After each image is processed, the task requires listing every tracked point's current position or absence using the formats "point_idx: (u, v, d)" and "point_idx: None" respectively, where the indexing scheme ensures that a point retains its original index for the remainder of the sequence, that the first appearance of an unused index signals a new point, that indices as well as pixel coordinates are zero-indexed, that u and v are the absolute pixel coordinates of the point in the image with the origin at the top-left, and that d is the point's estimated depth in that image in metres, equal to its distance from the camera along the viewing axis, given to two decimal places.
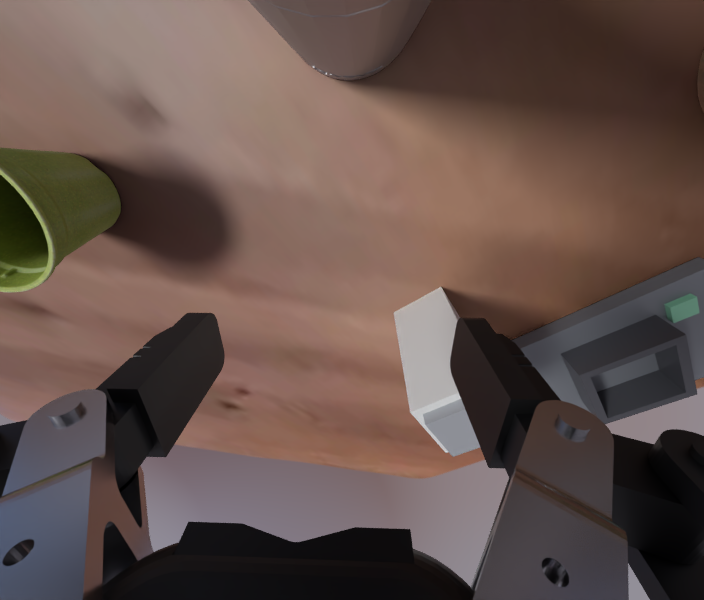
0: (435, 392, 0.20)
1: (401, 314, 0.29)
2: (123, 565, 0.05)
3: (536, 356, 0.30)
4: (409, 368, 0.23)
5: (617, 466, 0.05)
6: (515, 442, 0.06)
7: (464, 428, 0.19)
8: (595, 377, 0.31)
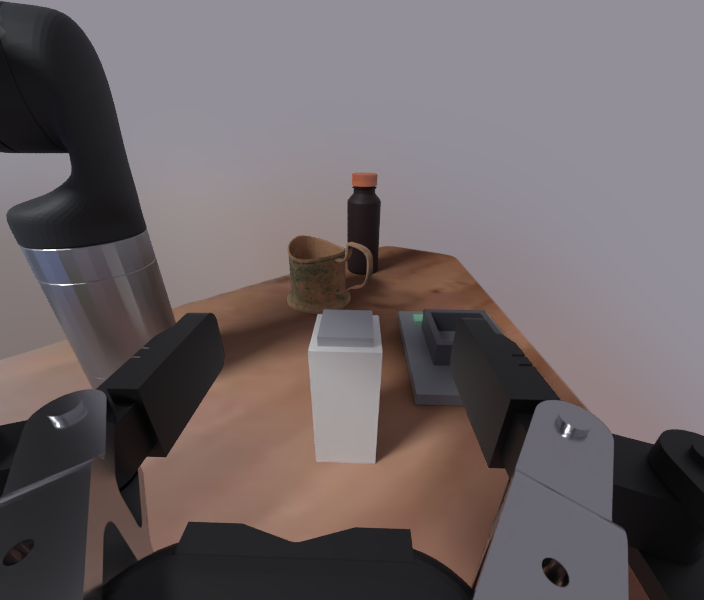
0: None
1: None
2: (123, 565, 0.05)
3: (429, 376, 0.34)
4: None
5: (617, 466, 0.05)
6: (515, 442, 0.06)
7: (342, 323, 0.23)
8: None
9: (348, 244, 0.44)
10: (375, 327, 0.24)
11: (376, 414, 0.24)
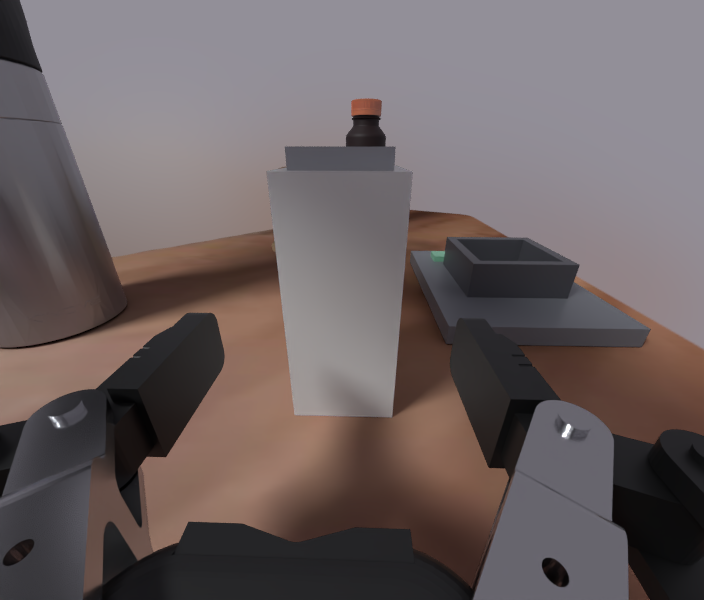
0: None
1: None
2: (123, 565, 0.05)
3: (463, 308, 0.24)
4: None
5: (617, 466, 0.05)
6: (515, 442, 0.06)
7: None
8: None
9: None
10: (394, 167, 0.14)
11: (396, 319, 0.13)
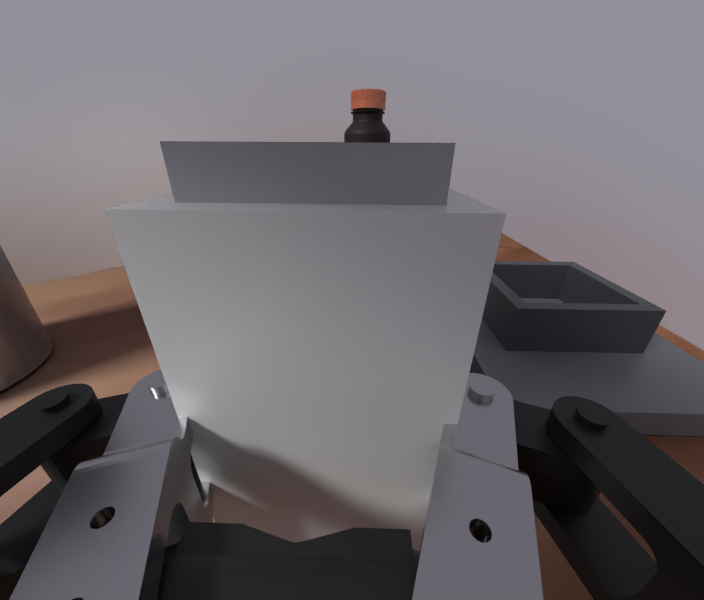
0: None
1: None
2: None
3: (504, 372, 0.17)
4: None
5: (518, 428, 0.06)
6: None
7: None
8: None
9: None
10: None
11: None
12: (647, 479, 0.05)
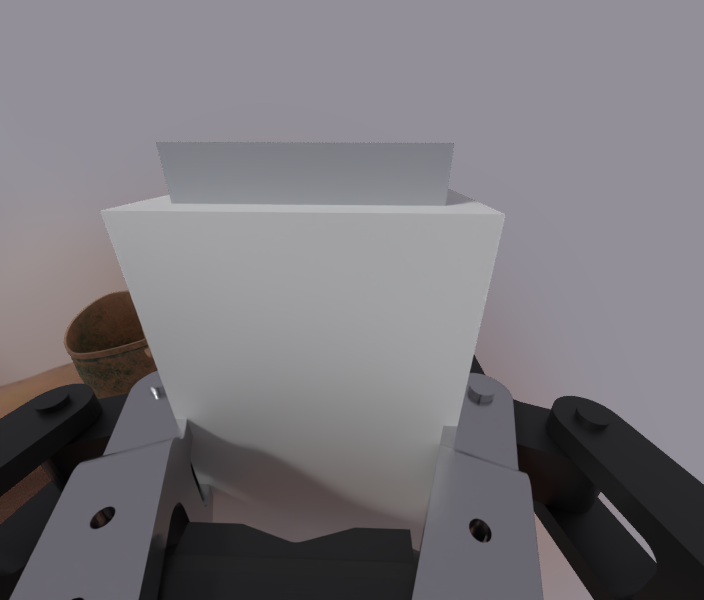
0: None
1: None
2: None
3: None
4: None
5: (517, 428, 0.06)
6: None
7: None
8: None
9: None
10: None
11: None
12: (647, 479, 0.05)
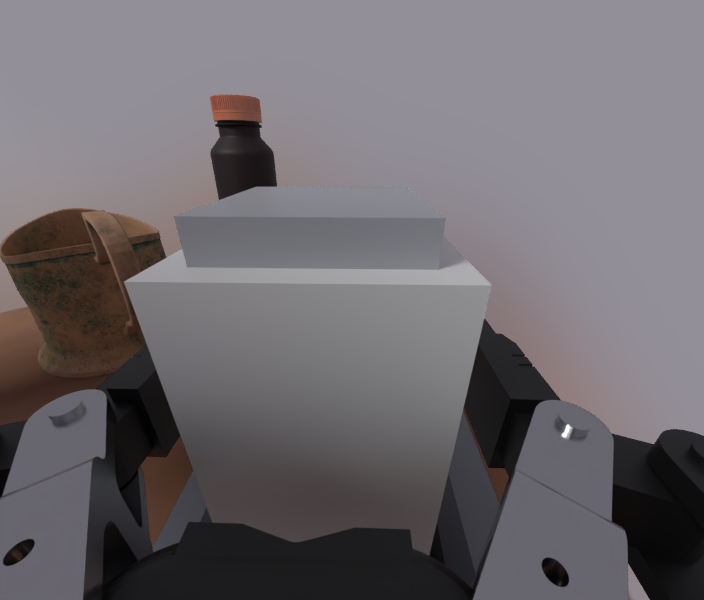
0: None
1: None
2: (123, 565, 0.05)
3: None
4: None
5: (617, 466, 0.05)
6: (515, 442, 0.06)
7: (305, 198, 0.06)
8: None
9: (83, 215, 0.17)
10: None
11: (429, 524, 0.07)
12: None
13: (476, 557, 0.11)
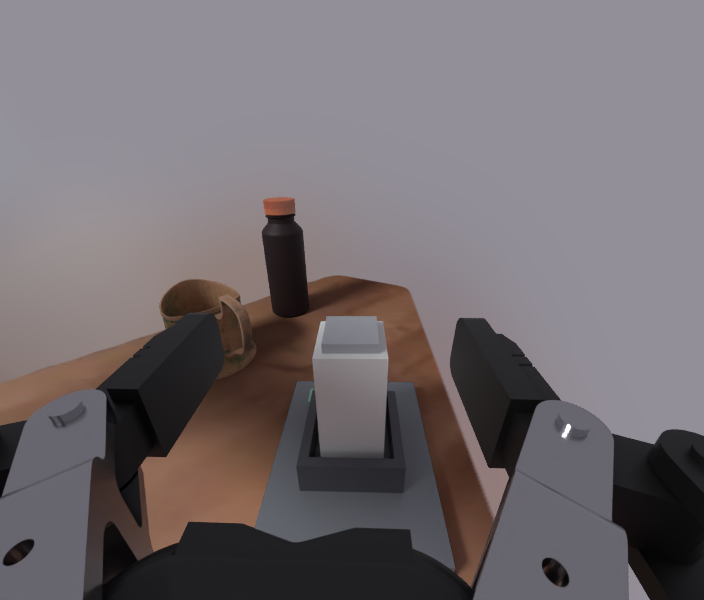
0: None
1: None
2: (123, 565, 0.05)
3: (281, 518, 0.23)
4: None
5: (617, 466, 0.05)
6: (515, 442, 0.06)
7: (346, 329, 0.22)
8: None
9: (220, 299, 0.34)
10: (380, 333, 0.23)
11: (383, 422, 0.23)
12: None
13: (411, 453, 0.27)
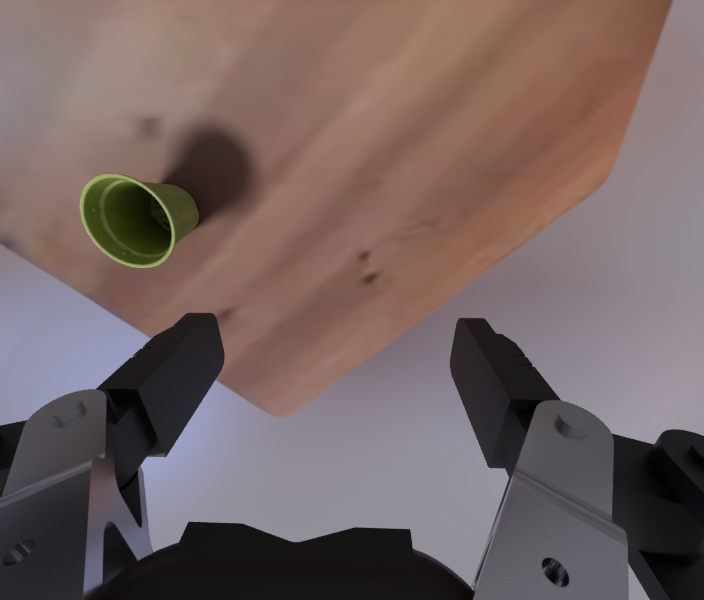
0: None
1: None
2: (123, 565, 0.05)
3: None
4: None
5: (617, 466, 0.05)
6: (515, 442, 0.06)
7: None
8: None
9: None
10: None
11: None
12: None
13: None
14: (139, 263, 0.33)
